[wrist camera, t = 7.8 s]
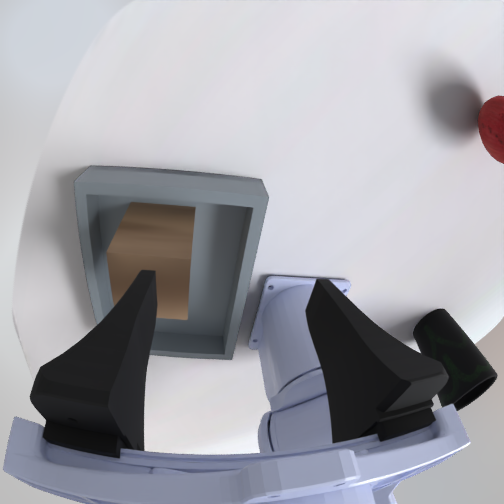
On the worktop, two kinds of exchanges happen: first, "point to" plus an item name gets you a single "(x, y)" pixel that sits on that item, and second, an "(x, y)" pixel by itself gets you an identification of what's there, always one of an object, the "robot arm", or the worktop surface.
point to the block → (154, 254)
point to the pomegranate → (493, 127)
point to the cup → (454, 359)
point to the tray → (203, 248)
